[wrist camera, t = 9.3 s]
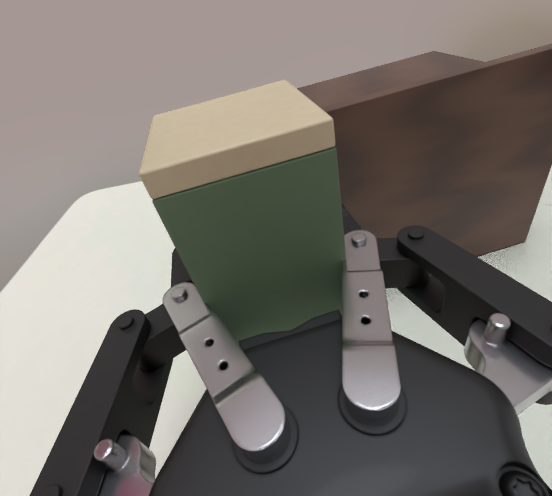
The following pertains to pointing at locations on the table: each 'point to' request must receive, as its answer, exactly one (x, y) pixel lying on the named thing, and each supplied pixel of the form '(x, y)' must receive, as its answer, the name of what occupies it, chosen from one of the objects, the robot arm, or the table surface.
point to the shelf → (444, 145)
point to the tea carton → (252, 205)
